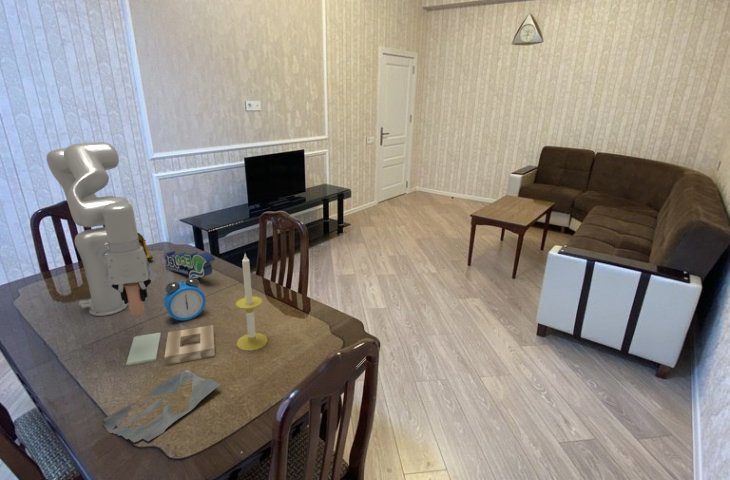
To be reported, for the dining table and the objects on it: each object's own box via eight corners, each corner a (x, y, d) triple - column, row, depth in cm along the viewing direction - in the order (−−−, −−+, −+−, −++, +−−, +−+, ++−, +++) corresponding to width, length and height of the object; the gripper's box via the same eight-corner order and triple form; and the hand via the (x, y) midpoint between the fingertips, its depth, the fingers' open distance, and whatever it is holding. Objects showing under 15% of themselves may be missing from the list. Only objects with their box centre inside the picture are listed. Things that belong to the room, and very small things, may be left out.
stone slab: (136, 458, 90) (133, 451, 89) (101, 429, 98) (98, 422, 97) (221, 390, 109) (220, 384, 108) (186, 371, 117) (184, 364, 116)
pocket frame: (165, 365, 119) (164, 357, 118) (169, 340, 131) (168, 332, 130) (214, 356, 124) (213, 348, 123) (213, 332, 136) (212, 325, 135)
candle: (241, 354, 125) (232, 261, 114) (233, 338, 133) (224, 250, 122) (271, 345, 130) (266, 255, 119) (262, 330, 138) (256, 245, 127)
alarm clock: (170, 326, 139) (164, 288, 134) (166, 318, 143) (160, 281, 138) (207, 315, 147) (203, 279, 141) (202, 308, 151) (198, 273, 146)
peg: (129, 316, 119) (123, 287, 115) (131, 310, 122) (125, 281, 119) (144, 314, 120) (138, 285, 117) (145, 308, 124) (140, 279, 120)
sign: (167, 274, 184) (161, 247, 181) (175, 271, 187) (169, 244, 184) (211, 286, 165) (205, 255, 161) (219, 282, 168) (213, 253, 164)
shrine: (129, 260, 192) (123, 231, 187) (146, 256, 198) (141, 227, 193) (140, 266, 185) (134, 237, 180) (157, 261, 191) (152, 232, 186)
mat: (126, 365, 118) (126, 363, 118) (134, 338, 131) (134, 336, 131) (156, 360, 121) (155, 358, 121) (160, 334, 134) (160, 332, 134)
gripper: (87, 252, 107) (101, 311, 114) (155, 246, 113) (164, 302, 119) (94, 243, 114) (106, 299, 120) (157, 238, 120) (166, 291, 126)
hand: (135, 300), depth 120 cm, fingers closed on peg, 4 cm apart
